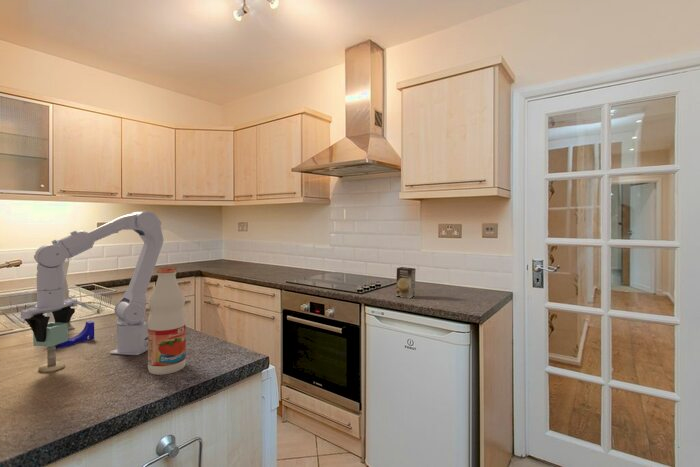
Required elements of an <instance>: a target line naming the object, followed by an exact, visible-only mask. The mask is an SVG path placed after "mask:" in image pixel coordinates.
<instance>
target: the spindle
mask: <svg viewBox="0 0 700 467" xmlns="http://www.w3.org/2000/svg"><path fill="white" fill-rule="evenodd" d="M46 349H47V350H46V352H47V353H46V354H47V355H46V356H47V357H46V358H47V360H46V361H47V362H46V363H43V364H41V365H39V367H38V368H37V369H38V372H39V373H51V372H55V371H56V372H57V371H59V370H62V369H63V368H64V367H66V366H65V362H64V361H57V356H56V355H57V353H56V352H57V351H56V350H57V349H56V347H55V346H52V347H46Z"/></svg>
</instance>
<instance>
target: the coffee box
mask: <svg viewBox="0 0 700 467" xmlns="http://www.w3.org/2000/svg"><path fill="white" fill-rule="evenodd" d="M416 270H417V269H416V268H415V267H413V268H412V267H406V266H405V267H404V266H401V267H396V287H395V289H396V290H395V291H396V292H395V297H396V296H403V297H410V298H411V297H413V296H416V273H417V272H416ZM413 298H414V297H413ZM411 299H412V298H411Z"/></svg>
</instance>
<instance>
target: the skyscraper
mask: <svg viewBox="0 0 700 467" xmlns="http://www.w3.org/2000/svg"><path fill="white" fill-rule="evenodd" d="M66 259H67V260H65V262H64V263H63V272H64V301H65V300H70V295H69V294H70V293H69V292H70V291H69V285H68V281H67V275H68V270H69V267H70V266H69V265H70V258H69V259H68V258H66ZM46 316H47V317H50V319H49V321H48V323H50V322H55V319H54V316H53V313H52V312H49V313H46ZM71 319H72V318H71ZM71 319H70V321H69V323H68V331H70V330H75V326H73V325H72V324H71V323H72V322H71Z"/></svg>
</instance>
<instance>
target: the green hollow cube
mask: <svg viewBox="0 0 700 467" xmlns="http://www.w3.org/2000/svg"><path fill="white" fill-rule="evenodd" d="M32 335H33V336H32V337H33V338H32V341H33V342H32V344H33V347H46V348H48V347H52V346H54V345H57V344H60V343H63V342H66V341H68V338H69V330H68V323H59V322H50V323H48V325H47V333H46V341H45V342H37V341H36V338H35V335H34V333H33V332H32Z"/></svg>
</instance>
